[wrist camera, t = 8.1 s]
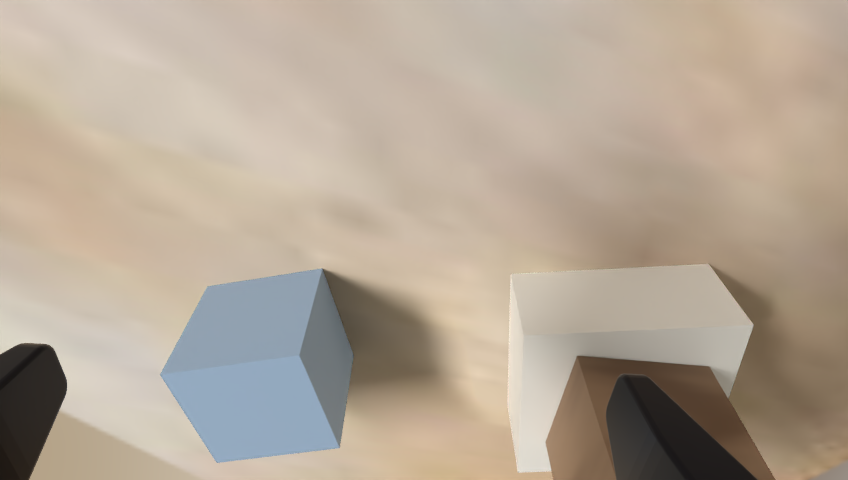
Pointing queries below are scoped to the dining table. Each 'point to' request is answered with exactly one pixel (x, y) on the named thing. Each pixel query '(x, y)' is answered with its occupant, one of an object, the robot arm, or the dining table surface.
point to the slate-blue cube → (264, 367)
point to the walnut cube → (587, 429)
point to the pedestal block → (611, 335)
